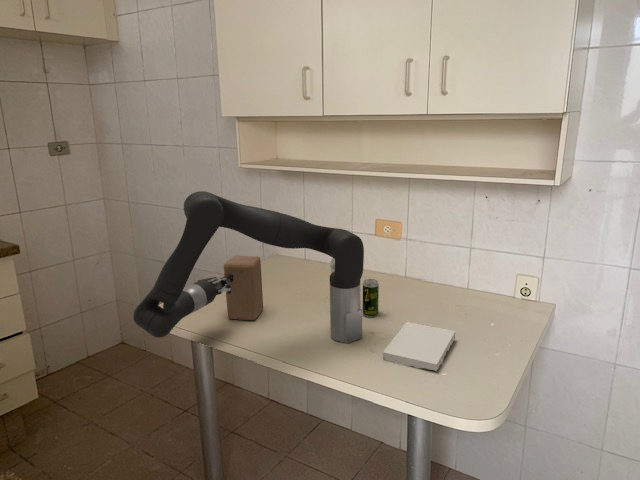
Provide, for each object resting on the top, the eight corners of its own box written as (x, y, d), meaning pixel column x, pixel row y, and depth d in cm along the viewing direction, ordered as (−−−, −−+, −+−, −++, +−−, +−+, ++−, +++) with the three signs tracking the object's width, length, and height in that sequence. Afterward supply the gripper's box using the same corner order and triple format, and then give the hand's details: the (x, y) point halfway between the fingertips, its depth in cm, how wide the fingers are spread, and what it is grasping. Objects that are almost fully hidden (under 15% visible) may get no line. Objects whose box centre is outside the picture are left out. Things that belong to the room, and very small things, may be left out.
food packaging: (436, 375, 122) (454, 341, 139) (436, 364, 122) (455, 331, 138) (383, 362, 130) (406, 331, 146) (383, 352, 129) (406, 321, 145)
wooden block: (255, 321, 155) (251, 264, 149) (226, 319, 157) (222, 263, 151) (264, 309, 164) (261, 255, 159) (237, 307, 166) (233, 254, 161)
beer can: (361, 311, 160) (361, 279, 157) (377, 311, 161) (377, 278, 157) (363, 318, 155) (363, 284, 152) (379, 317, 155) (380, 284, 152)
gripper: (212, 287, 131) (247, 268, 146) (176, 281, 137) (213, 263, 152) (215, 312, 134) (249, 290, 149) (179, 305, 139) (215, 285, 154)
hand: (231, 277), depth 150 cm, fingers closed
